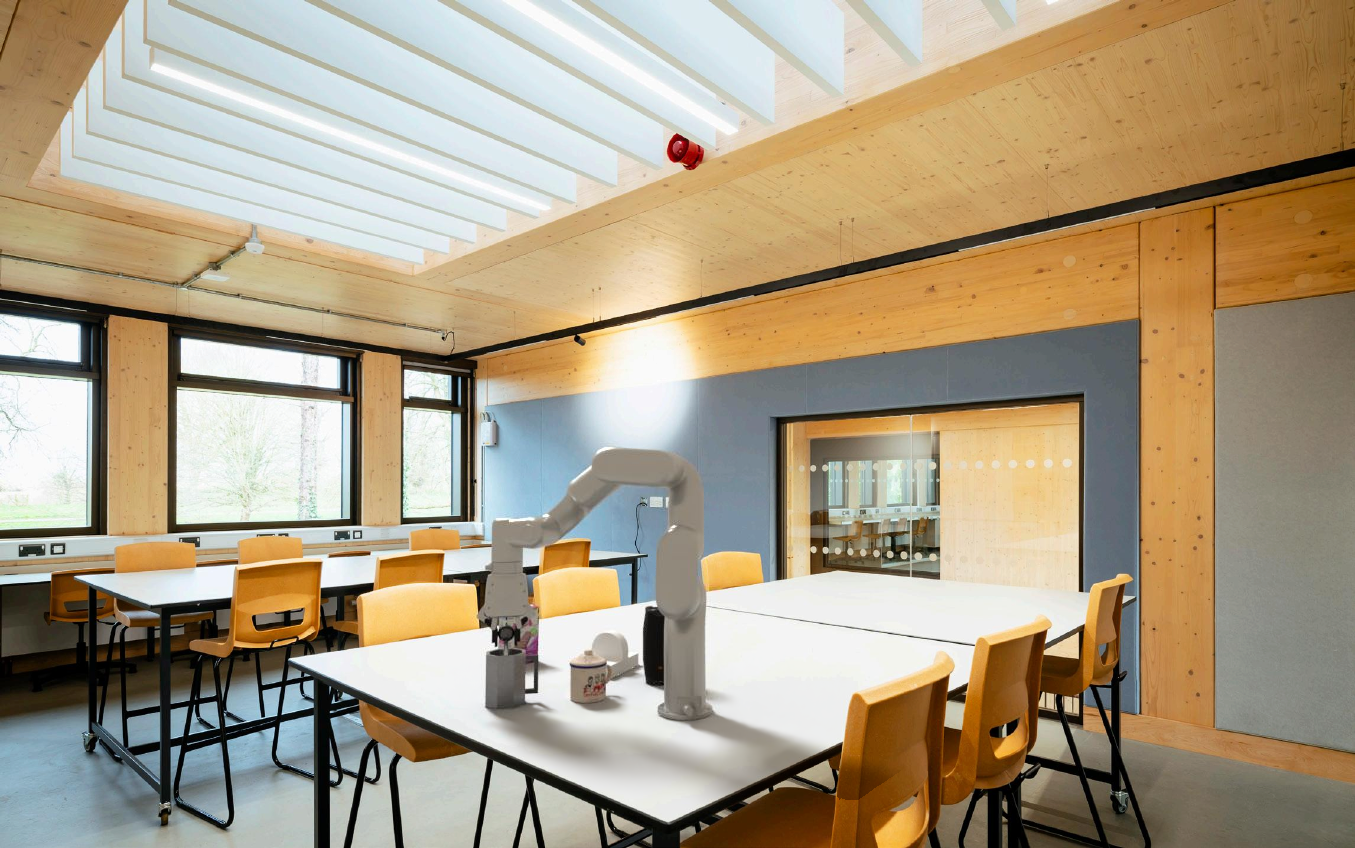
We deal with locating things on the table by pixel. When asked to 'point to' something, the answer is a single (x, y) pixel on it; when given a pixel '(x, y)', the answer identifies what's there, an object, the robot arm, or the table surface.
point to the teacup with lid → (589, 678)
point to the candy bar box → (524, 633)
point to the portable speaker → (653, 645)
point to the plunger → (506, 636)
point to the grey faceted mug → (508, 678)
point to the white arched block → (614, 652)
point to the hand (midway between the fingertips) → (506, 644)
